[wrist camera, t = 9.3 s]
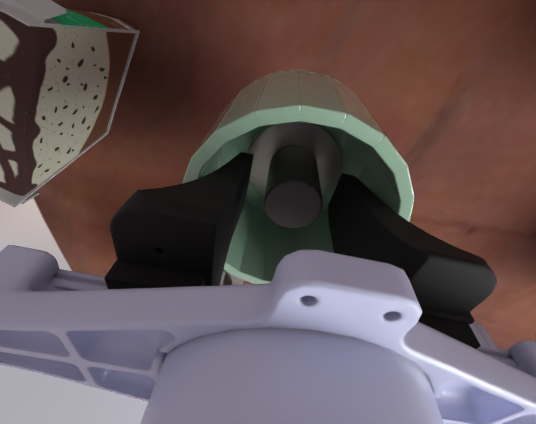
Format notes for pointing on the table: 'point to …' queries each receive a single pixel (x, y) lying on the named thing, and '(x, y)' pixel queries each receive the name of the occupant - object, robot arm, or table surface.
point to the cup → (312, 111)
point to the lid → (294, 170)
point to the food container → (55, 88)
